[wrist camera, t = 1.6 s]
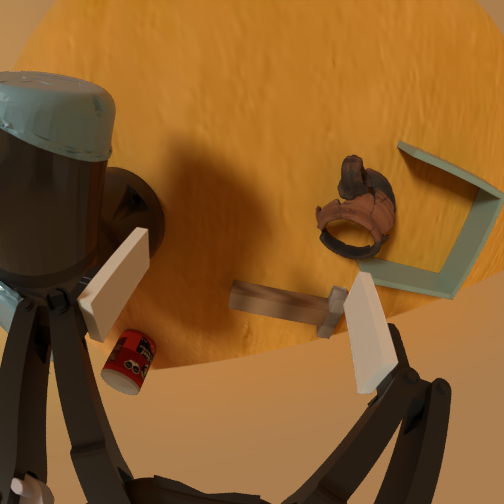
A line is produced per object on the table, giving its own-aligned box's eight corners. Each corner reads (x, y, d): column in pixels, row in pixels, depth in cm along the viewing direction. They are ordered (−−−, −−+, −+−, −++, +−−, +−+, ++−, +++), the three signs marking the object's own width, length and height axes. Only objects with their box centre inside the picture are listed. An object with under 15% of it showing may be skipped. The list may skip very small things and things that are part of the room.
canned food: (160, 356, 54) (142, 399, 45) (127, 348, 55) (107, 387, 46) (153, 333, 50) (132, 379, 41) (118, 324, 51) (94, 366, 42)
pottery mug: (401, 217, 33) (393, 268, 29) (335, 214, 39) (318, 261, 35) (389, 134, 25) (382, 181, 21) (309, 140, 31) (284, 184, 27)
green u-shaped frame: (356, 259, 36) (363, 281, 32) (398, 140, 27) (416, 149, 23) (440, 278, 36) (452, 299, 32) (486, 181, 27) (506, 195, 23)
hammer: (229, 306, 44) (226, 319, 41) (236, 265, 39) (232, 278, 37) (327, 324, 44) (329, 338, 41) (345, 287, 39) (348, 301, 37)
